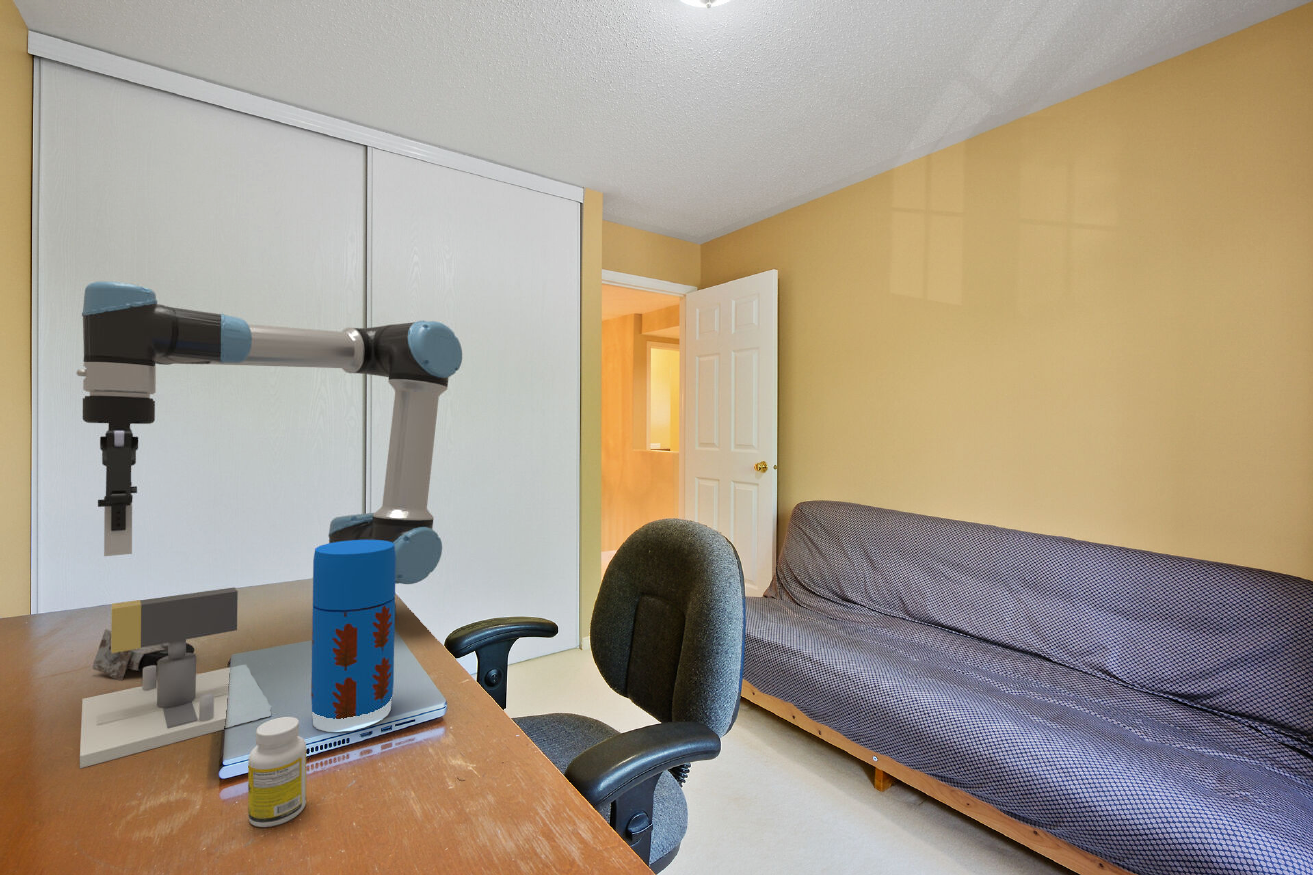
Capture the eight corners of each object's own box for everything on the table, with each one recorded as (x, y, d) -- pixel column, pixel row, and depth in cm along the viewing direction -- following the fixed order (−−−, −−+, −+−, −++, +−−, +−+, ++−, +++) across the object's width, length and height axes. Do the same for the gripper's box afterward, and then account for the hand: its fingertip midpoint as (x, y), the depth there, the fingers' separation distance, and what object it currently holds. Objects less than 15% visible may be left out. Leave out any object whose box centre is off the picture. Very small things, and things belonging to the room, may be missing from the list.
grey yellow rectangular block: (233, 641, 92) (234, 586, 92) (236, 647, 90) (237, 590, 90) (110, 665, 83) (111, 603, 82) (111, 671, 80) (111, 608, 80)
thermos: (408, 705, 91) (411, 543, 90) (351, 739, 80) (354, 557, 80) (353, 693, 94) (356, 537, 94) (292, 724, 84) (295, 549, 84)
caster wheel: (197, 676, 105) (138, 691, 95) (149, 655, 107) (87, 669, 97) (210, 638, 105) (152, 650, 96) (162, 619, 108) (101, 629, 98)
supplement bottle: (265, 797, 68) (266, 713, 68) (315, 796, 68) (316, 712, 68) (236, 830, 62) (237, 738, 62) (290, 828, 63) (291, 737, 63)
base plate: (245, 672, 101) (246, 625, 101) (271, 716, 86) (272, 661, 86) (82, 708, 87) (82, 654, 87) (79, 768, 72) (80, 703, 72)
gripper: (87, 395, 90) (86, 534, 90) (76, 391, 71) (75, 566, 71) (152, 398, 95) (151, 530, 95) (158, 394, 76) (156, 558, 76)
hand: (118, 546), depth 83 cm, fingers open, 13 cm apart
